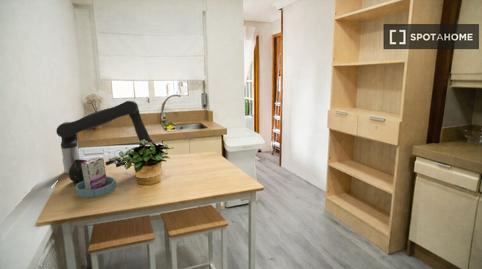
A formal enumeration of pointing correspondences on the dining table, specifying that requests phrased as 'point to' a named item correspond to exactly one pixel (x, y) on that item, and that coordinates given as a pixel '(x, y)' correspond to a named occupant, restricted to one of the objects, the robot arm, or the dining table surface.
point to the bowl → (104, 190)
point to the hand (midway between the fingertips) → (111, 164)
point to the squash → (76, 171)
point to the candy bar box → (94, 173)
